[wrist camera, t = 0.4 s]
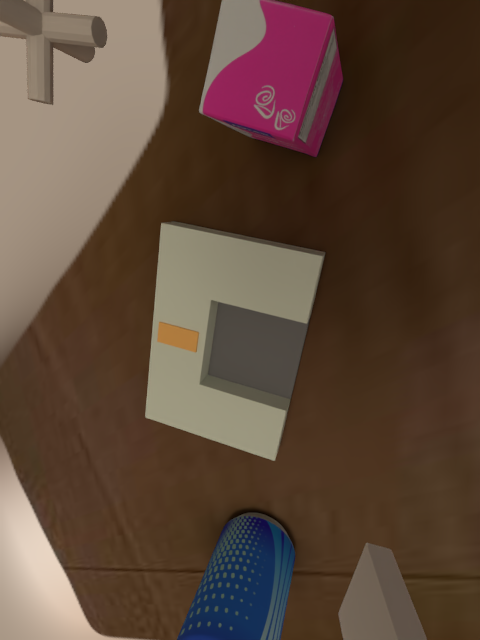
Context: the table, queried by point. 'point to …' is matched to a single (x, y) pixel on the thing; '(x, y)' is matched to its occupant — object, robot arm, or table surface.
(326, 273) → the table surface
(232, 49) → the supplement box
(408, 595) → the robot arm
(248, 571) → the beer can
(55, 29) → the pipe connector
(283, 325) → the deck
